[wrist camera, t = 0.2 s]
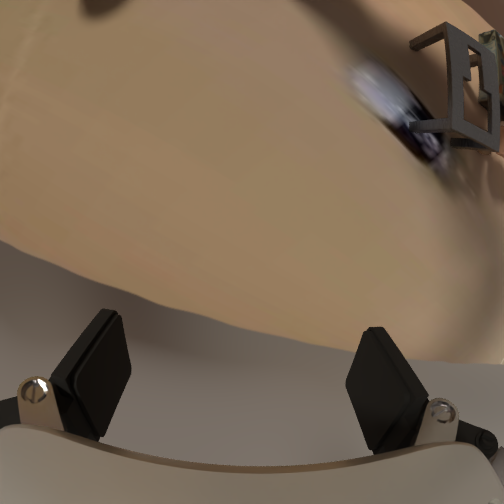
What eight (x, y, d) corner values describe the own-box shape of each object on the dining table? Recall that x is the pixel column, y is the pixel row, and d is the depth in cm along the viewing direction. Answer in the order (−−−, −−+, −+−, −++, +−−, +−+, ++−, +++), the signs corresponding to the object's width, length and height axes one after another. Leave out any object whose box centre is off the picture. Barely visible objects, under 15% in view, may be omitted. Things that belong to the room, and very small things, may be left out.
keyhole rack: (409, 41, 30) (445, 21, 19) (456, 64, 30) (494, 54, 20) (408, 131, 35) (451, 128, 25) (456, 148, 36) (499, 152, 26)
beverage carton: (499, 53, 28) (518, 50, 22) (498, 123, 34) (520, 124, 28) (477, 33, 27) (496, 27, 21) (475, 104, 33) (498, 102, 27)
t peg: (474, 125, 34) (512, 126, 25) (489, 134, 35) (526, 136, 25) (473, 150, 36) (511, 155, 26) (488, 158, 36) (525, 164, 27)
